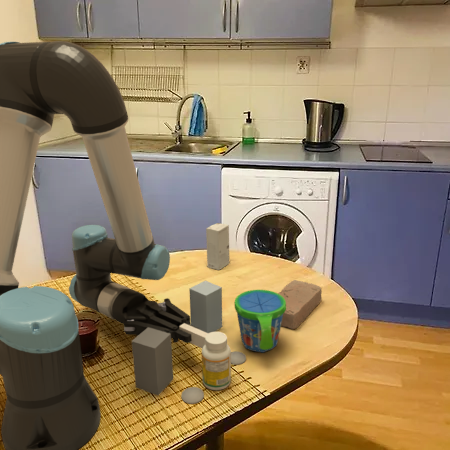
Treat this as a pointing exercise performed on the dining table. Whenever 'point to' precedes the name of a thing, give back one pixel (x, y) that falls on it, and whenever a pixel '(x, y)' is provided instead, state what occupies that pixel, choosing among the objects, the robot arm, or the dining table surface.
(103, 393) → the dining table surface
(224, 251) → the skincare box
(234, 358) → the coaster right
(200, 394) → the coaster left
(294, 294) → the brick
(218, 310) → the light grey rectangular block
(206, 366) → the supplement bottle
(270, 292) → the snack cup
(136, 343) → the post charcoal
